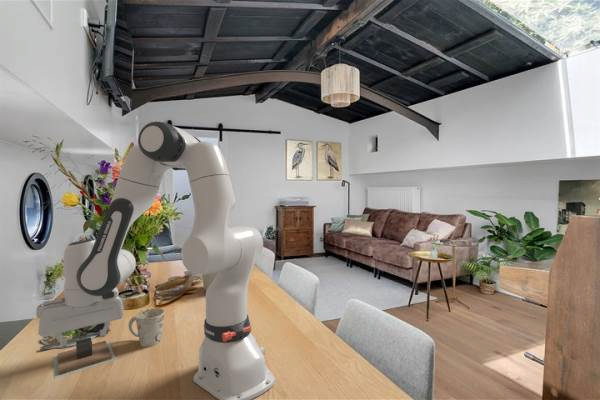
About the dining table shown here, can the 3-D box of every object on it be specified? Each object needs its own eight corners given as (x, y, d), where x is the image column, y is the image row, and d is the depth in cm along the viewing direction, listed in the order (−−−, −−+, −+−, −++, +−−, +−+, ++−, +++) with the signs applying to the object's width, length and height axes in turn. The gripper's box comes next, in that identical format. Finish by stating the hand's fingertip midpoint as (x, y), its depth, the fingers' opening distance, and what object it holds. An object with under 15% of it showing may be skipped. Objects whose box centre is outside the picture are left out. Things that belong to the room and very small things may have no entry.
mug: (153, 351, 94) (152, 319, 93) (118, 347, 96) (117, 316, 96) (170, 338, 102) (169, 309, 102) (137, 335, 104) (136, 306, 104)
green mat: (116, 361, 89) (116, 359, 89) (54, 380, 80) (54, 378, 80) (108, 342, 99) (108, 340, 99) (53, 358, 91) (53, 356, 91)
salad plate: (55, 360, 90) (55, 345, 90) (23, 347, 97) (22, 333, 97) (118, 332, 108) (118, 319, 107) (86, 323, 115) (86, 311, 115)
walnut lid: (111, 359, 89) (111, 342, 89) (59, 375, 81) (58, 357, 81) (105, 343, 98) (105, 328, 98) (57, 356, 90) (57, 340, 90)
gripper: (35, 306, 80) (37, 358, 81) (124, 290, 93) (124, 335, 94) (36, 299, 85) (37, 348, 86) (120, 285, 98) (121, 327, 99)
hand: (84, 341), depth 90 cm, fingers open, 8 cm apart
